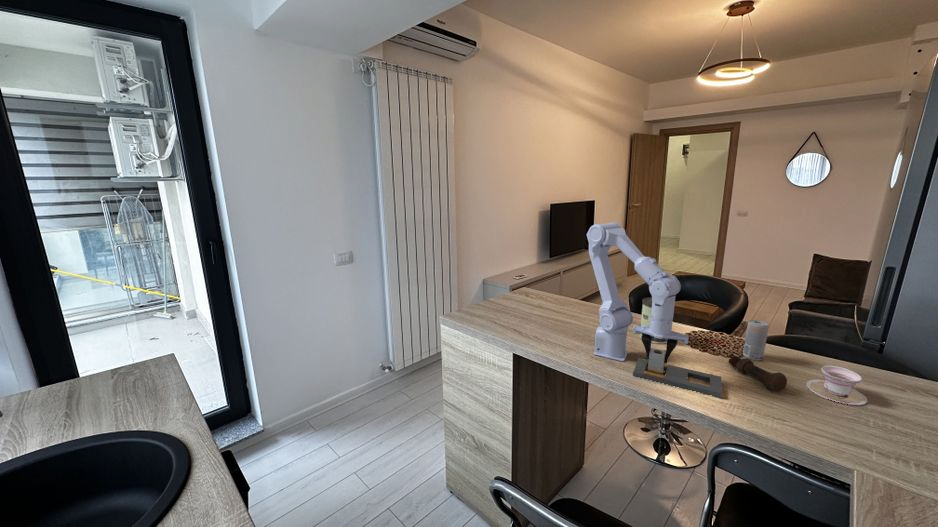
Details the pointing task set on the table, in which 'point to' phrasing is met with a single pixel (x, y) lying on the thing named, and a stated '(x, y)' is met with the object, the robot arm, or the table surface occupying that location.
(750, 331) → the energy drink
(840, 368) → the teacup
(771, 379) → the dark brown lumpy rod
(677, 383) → the rail
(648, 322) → the coffee can
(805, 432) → the table surface
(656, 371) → the nut block
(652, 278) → the robot arm
